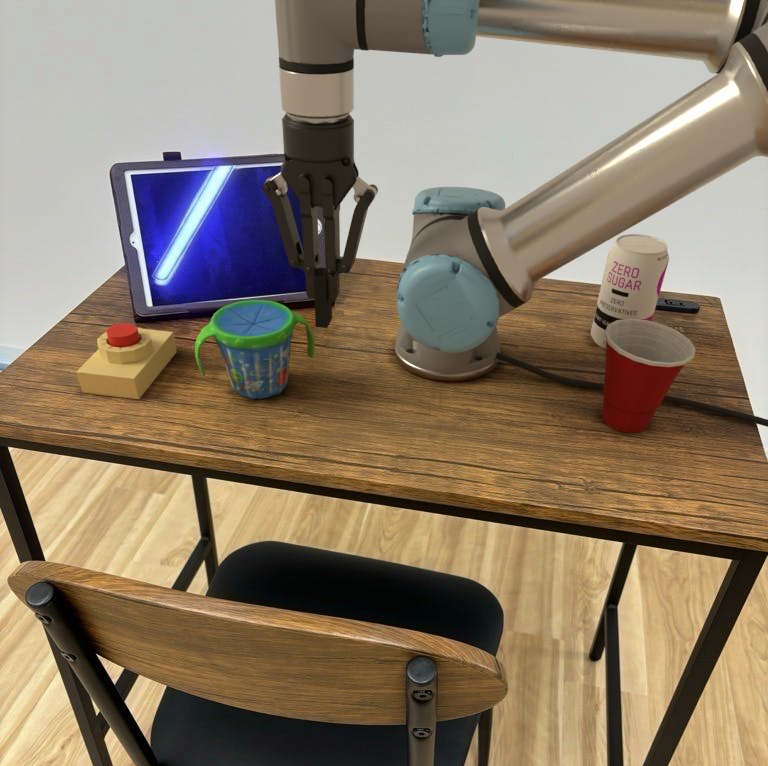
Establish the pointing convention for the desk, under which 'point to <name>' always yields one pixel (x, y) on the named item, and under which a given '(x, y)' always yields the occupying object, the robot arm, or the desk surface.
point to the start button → (123, 335)
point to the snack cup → (255, 345)
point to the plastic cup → (640, 370)
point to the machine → (127, 365)
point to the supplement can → (630, 282)
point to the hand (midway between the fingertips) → (323, 322)
